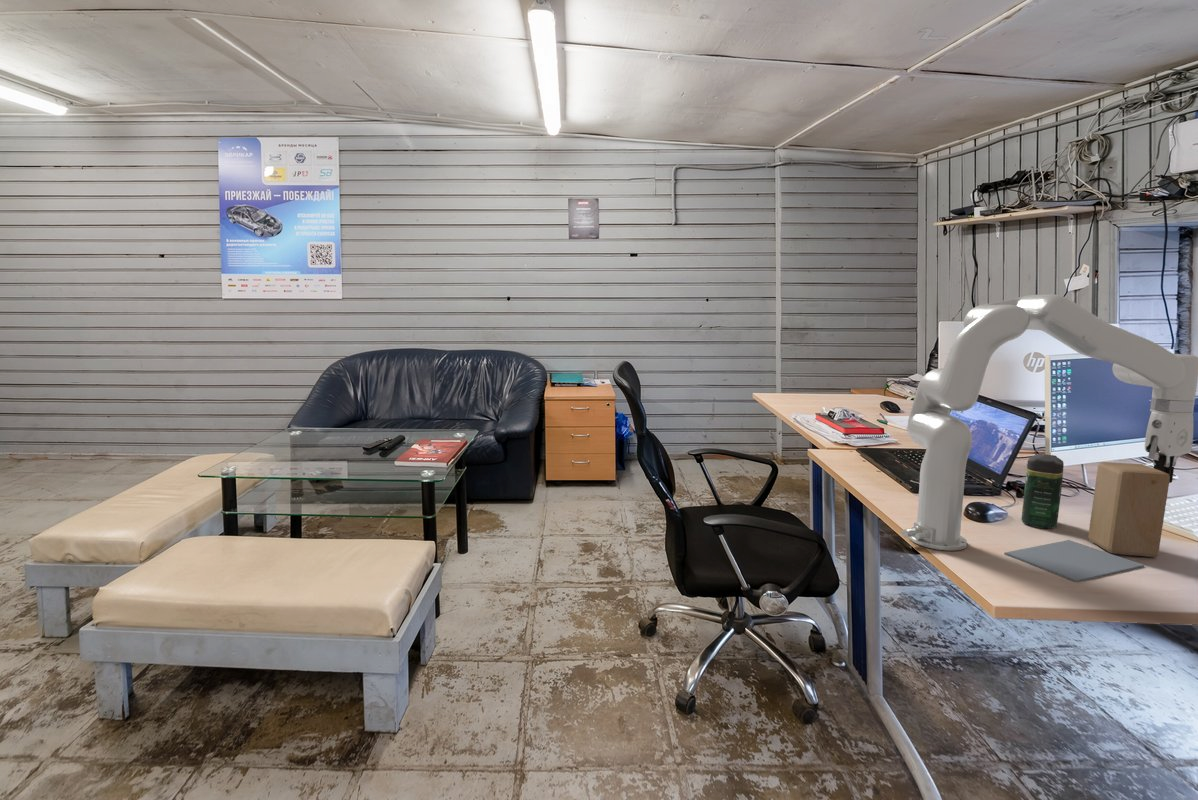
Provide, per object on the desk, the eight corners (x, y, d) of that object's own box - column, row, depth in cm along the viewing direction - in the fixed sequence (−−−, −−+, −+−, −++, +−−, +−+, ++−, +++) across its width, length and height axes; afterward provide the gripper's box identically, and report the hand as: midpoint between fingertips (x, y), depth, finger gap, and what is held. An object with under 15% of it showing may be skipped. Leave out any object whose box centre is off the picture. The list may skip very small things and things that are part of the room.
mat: (1076, 582, 131) (1076, 580, 131) (1004, 554, 146) (1004, 552, 146) (1143, 566, 138) (1144, 564, 138) (1068, 541, 153) (1069, 539, 153)
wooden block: (1160, 558, 142) (1173, 473, 139) (1110, 554, 144) (1122, 470, 141) (1132, 543, 151) (1143, 463, 149) (1085, 539, 153) (1096, 460, 150)
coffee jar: (1056, 531, 159) (1064, 461, 157) (1019, 525, 164) (1026, 457, 162) (1058, 521, 167) (1065, 454, 164) (1023, 515, 172) (1029, 450, 169)
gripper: (1171, 410, 140) (1160, 489, 143) (1211, 406, 145) (1200, 482, 148) (1133, 406, 147) (1124, 480, 150) (1172, 402, 152) (1163, 474, 155)
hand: (1162, 481), depth 149 cm, fingers closed
